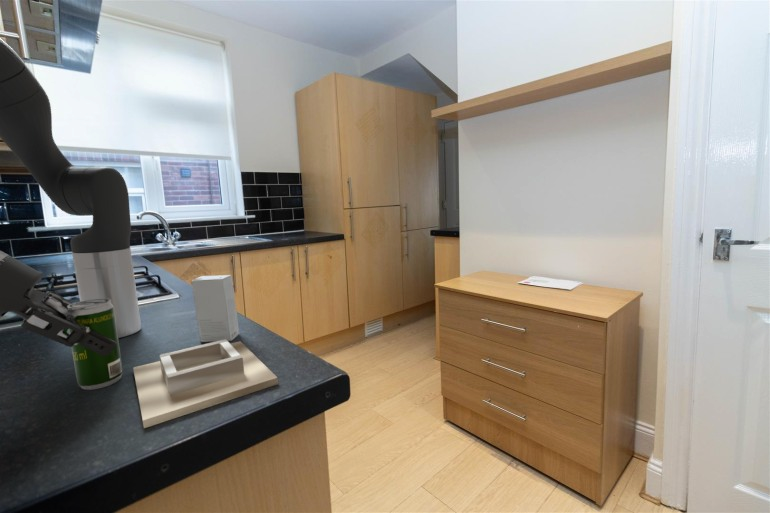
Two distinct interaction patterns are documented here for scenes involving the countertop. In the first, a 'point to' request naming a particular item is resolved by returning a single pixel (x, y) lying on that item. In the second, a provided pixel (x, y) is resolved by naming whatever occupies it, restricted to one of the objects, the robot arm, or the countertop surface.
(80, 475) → the countertop surface
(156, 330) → the countertop surface
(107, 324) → the beer can
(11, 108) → the robot arm
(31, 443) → the countertop surface
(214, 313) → the skincare box
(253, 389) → the socket plate
